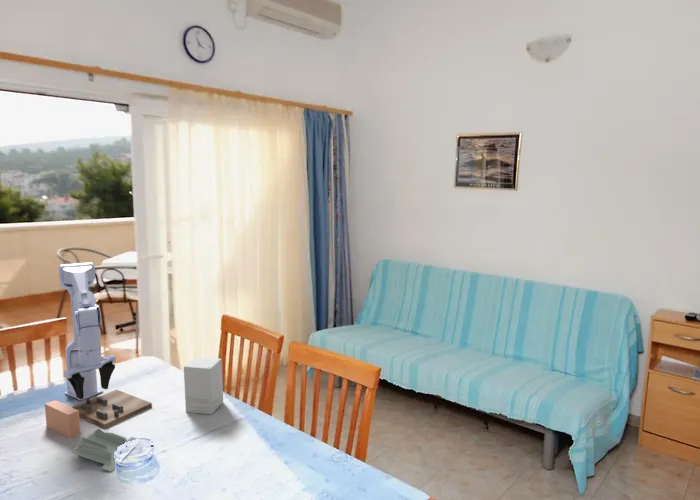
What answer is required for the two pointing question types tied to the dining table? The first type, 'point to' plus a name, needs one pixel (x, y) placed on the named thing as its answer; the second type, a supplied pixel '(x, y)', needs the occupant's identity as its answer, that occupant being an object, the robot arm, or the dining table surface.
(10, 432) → the dining table surface
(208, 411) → the supplement box
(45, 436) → the dining table surface
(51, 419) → the door panel
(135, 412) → the cabinet side board
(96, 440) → the grey-green ridged piece
